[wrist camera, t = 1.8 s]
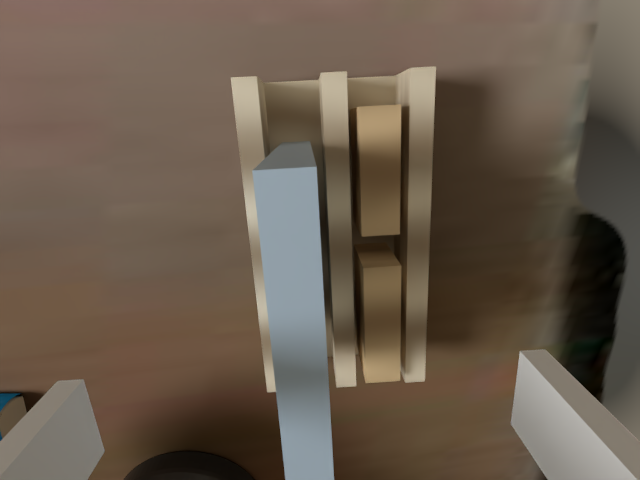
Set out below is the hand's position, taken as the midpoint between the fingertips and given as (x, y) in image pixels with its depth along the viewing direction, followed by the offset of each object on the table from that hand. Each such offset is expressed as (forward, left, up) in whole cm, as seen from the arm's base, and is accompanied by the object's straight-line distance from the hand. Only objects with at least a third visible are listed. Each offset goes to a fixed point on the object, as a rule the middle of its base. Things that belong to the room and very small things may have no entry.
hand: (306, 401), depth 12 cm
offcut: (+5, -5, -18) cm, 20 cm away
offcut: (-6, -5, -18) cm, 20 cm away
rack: (0, -2, -20) cm, 20 cm away
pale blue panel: (0, 0, -18) cm, 18 cm away
